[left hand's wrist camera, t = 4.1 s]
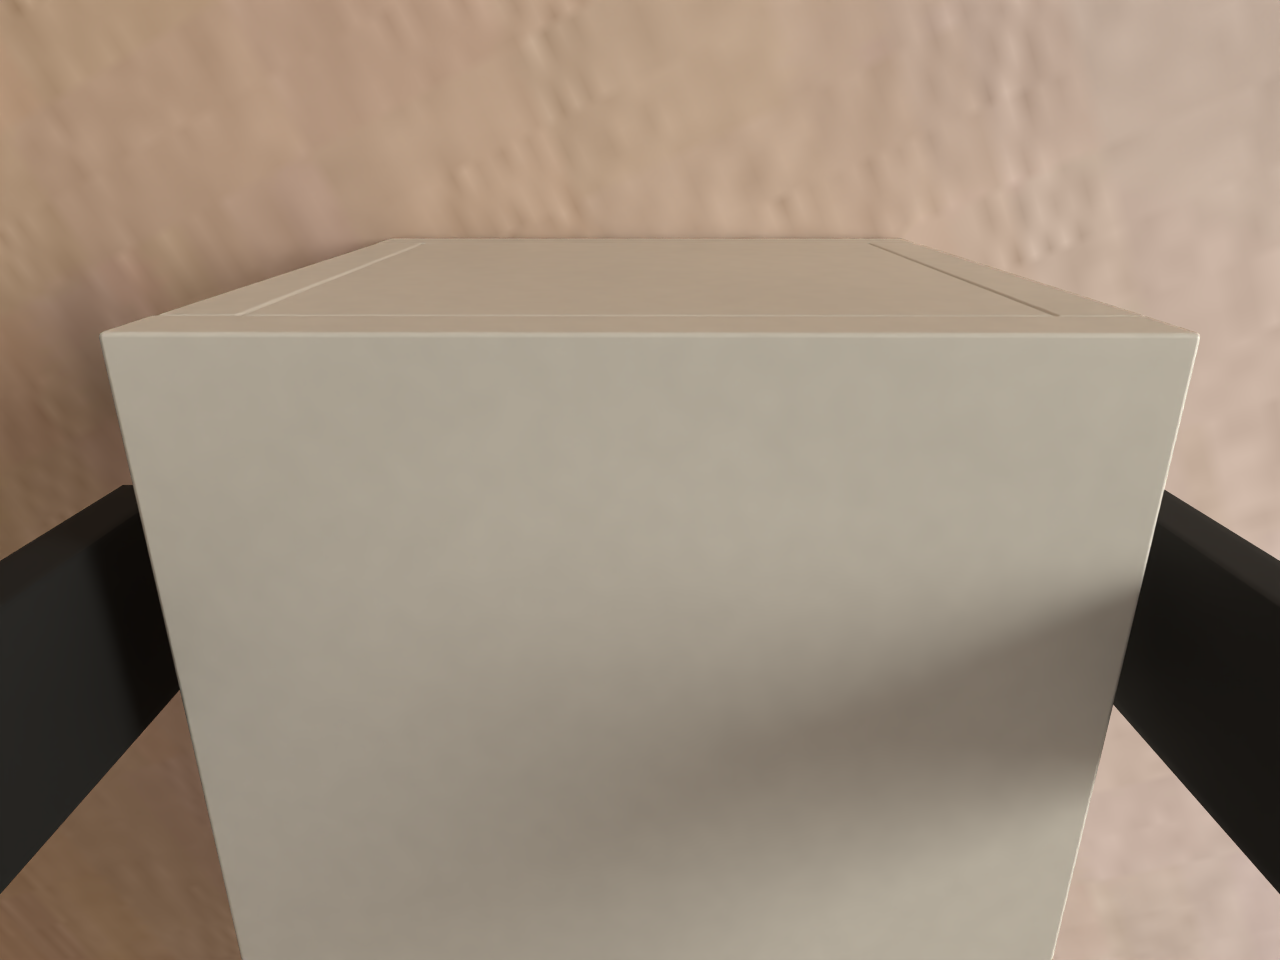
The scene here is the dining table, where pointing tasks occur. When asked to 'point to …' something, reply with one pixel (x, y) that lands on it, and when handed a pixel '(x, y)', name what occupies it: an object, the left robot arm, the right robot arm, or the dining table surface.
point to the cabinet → (648, 592)
